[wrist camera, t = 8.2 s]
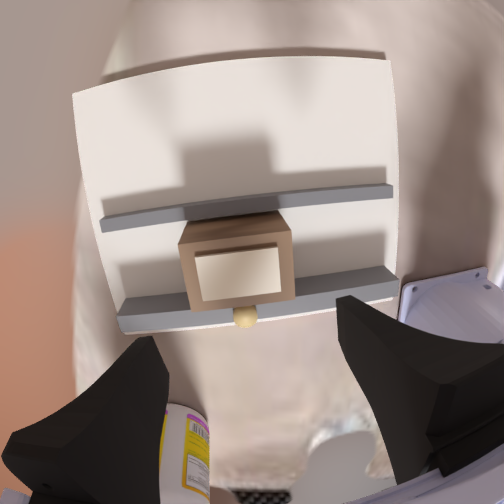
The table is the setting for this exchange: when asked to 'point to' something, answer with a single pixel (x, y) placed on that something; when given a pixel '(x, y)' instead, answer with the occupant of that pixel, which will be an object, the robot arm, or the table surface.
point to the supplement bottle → (184, 457)
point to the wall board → (243, 179)
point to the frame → (237, 261)
